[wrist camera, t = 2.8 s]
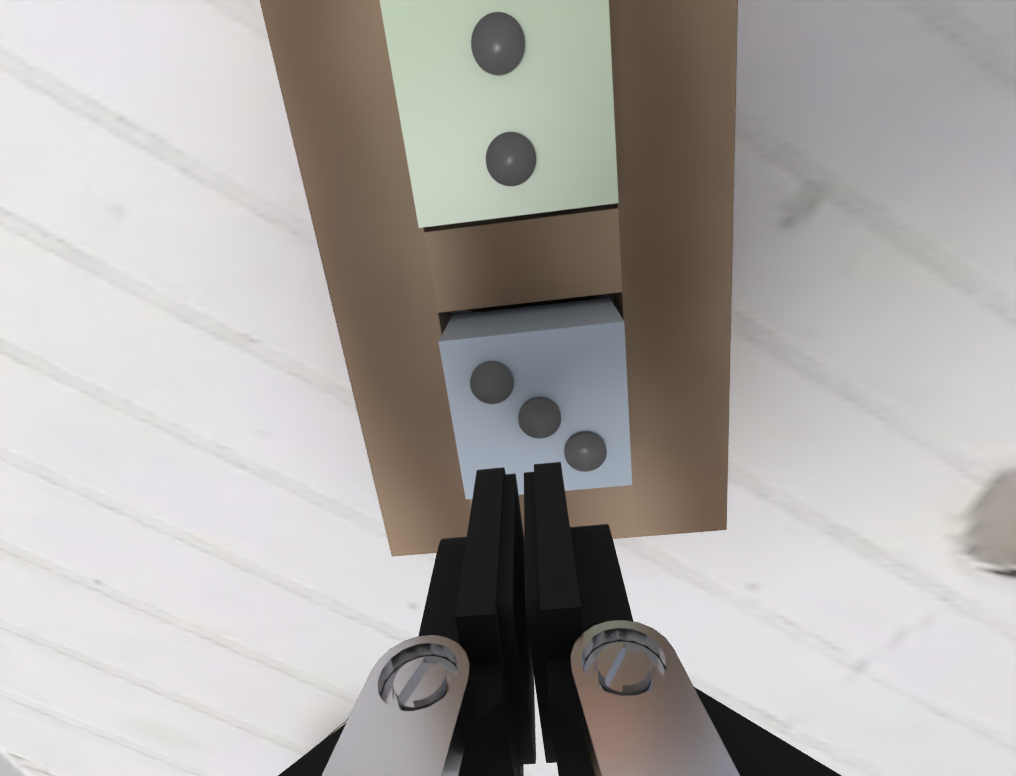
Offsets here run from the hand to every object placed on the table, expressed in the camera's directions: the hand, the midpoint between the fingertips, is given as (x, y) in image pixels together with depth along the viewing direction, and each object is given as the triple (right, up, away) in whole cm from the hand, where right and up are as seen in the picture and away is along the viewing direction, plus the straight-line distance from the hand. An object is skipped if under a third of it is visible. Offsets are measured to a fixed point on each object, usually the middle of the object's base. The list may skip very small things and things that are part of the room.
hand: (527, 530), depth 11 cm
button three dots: (+1, +3, +8) cm, 8 cm away
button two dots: (0, +11, +5) cm, 12 cm away
